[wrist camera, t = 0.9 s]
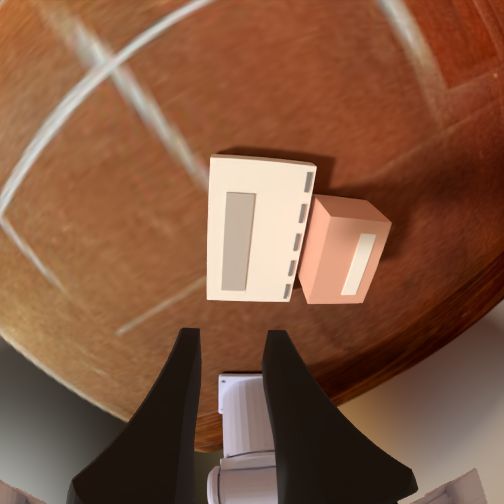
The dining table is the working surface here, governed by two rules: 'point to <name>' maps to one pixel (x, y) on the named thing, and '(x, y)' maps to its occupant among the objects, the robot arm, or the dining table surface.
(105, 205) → the dining table surface
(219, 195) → the white slotted panel
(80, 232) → the dining table surface
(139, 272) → the dining table surface
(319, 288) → the pink rectangular block
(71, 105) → the dining table surface
